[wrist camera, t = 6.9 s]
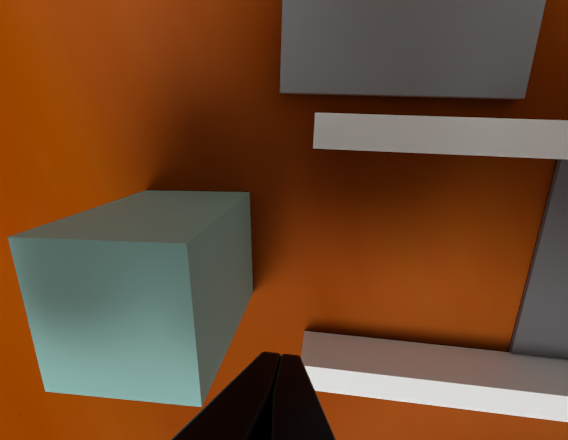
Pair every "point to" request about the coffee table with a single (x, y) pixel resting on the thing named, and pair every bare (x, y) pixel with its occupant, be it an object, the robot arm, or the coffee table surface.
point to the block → (138, 294)
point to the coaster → (409, 47)
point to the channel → (535, 302)
